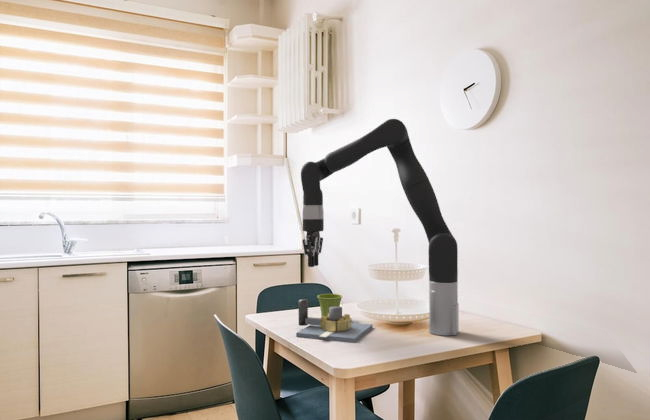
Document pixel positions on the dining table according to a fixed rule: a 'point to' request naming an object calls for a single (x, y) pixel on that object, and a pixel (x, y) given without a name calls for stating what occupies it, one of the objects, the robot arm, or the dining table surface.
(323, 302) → the plant pot
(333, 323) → the ring with upright handle
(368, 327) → the hub board
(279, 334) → the dining table surface
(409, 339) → the dining table surface
